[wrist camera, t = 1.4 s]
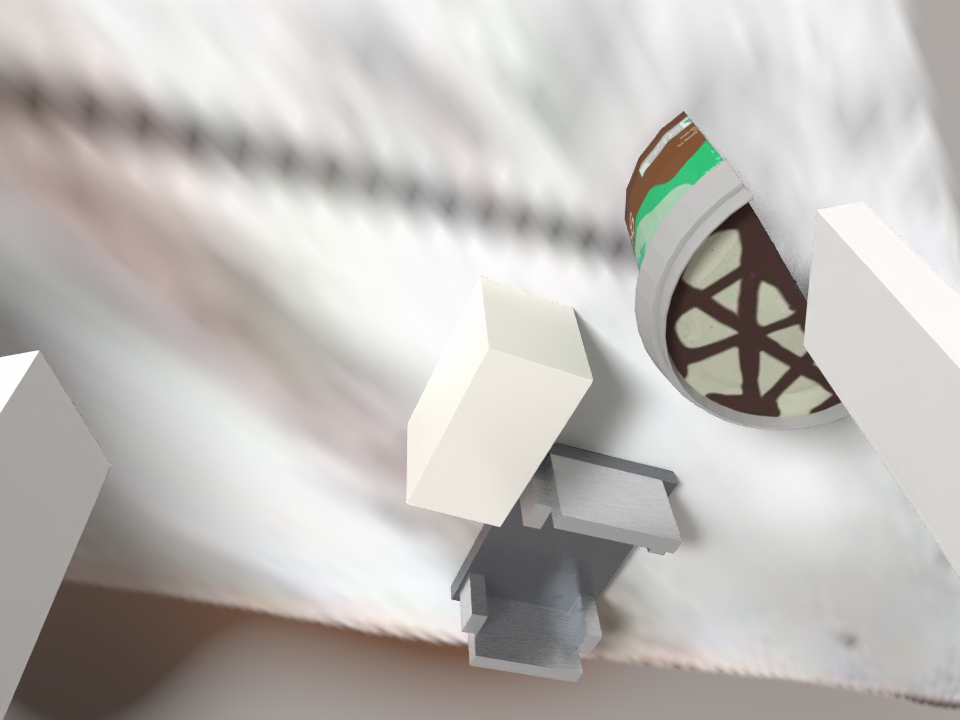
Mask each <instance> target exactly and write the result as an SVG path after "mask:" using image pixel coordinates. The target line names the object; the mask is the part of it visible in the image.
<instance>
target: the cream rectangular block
mask: <svg viewBox="0 0 960 720" xmlns="http://www.w3.org/2000/svg"><path fill="white" fill-rule="evenodd" d="M592 382H593V377H592V374H591V370H590V367H589V363H588V359H587V356H586V352H585V349H584V345H583V342H582V338H581V335H580V331H579V328H578V324H577V320H576V317H575V313H574V310H573V307H570V306H567V305H564V304H561V303H558V302H555V301H553V300H550V299H547V298H544V297H541V296H538V295H535V294H532V293H529V292H526V291H523V290H520V289H517V288H515V287H512V286H509V285H506V284H503V283H500V282H497V281H494V280H491V279H488V278H485V277H482V276H480V277H479V280H478V282H477V284H476V286H475V288H474V290H473V292H472V294H471V296H470V298H469V300H468V302H467V304H466V306H465V308H464V310H463V312H462V314H461V316H460V318H459V320H458V322H457V324H456V326H455V329H454V331H453V333H452V335H451V337H450V339H449V341H448V343H447V345H446V347H445V349H444V351H443V353H442V355H441V357H440V359H439V361H438V363H437V365H436V367H435V369H434V371H433V373H432V376H431V378H430V380H429V382H428V384H427V386H426V388H425V390H424V392H423V394H422V396H421V398H420V400H419V402H418V404H417V406H416V408H415V410H414V412H413V414H412V416H411V418H410V420H409V422H408V438H407V503H406V504H408V505H413V506H417V507H421V508H425V509H429V510H433V511H437V512H441V513H445V514H449V515H453V516H457V517H461V518H465V519H469V520H473V521H477V522H482V523H486V524H490V525H494V526H498V527H501V525H502V523H503V522H504V520H505V519H506V517H507V516H508V514H509V512H510V511H511V509H512V508H513V506H514V505H515V503H516V501H517V500H518V498H519V497H520V495H521V494H522V492H523V490H524V489H525V487H526V486H527V484H528V483H529V481H530V479H531V478H532V476H533V475H534V473H535V472H536V470H537V469H538V467H539V465H540V464H541V462H542V461H543V459H544V458H545V456H546V454H547V453H548V451H549V450H550V448H551V447H552V445H553V443H554V442H555V440H556V439H557V437H558V436H559V434H560V432H561V431H562V429H563V428H564V426H565V425H566V423H567V421H568V420H569V418H570V417H571V415H572V414H573V412H574V410H575V409H576V407H577V406H578V404H579V403H580V401H581V399H582V398H583V396H584V395H585V393H586V392H587V390H588V389H589V387H590V385H591V384H592Z"/></svg>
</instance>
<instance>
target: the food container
mask: <svg viewBox="0 0 960 720" xmlns="http://www.w3.org/2000/svg"><path fill="white" fill-rule="evenodd" d="M752 199H753V197H752V195H751V194H750V193H749V191H748V190H747V189H746V187H745V186H744V184H743V182H742V181H741V180H740V178H739V177H738V175H737V174H736V173H735V171H734V170H733V168H732V167H731V166H730V164H729V163H728V161H727V160H726V159H725V160H723V159H722V158H721V156H720V155H719V154H718V153H717V152H716V150H715V149H714V148H713V147H712V145H711V144H710V143H709V142H708V140H707V139H706V138H705V137H704V135H703V134H702V133H701V132H700V130H699V129H698V128H697V127H696V125H695V124H694V123H693V122H692V120H691V119H690V118H689V117H688V115H687V114H686V113H685V112H684V111H683V112H682V113H681V114H680V115H678V116H677V117H676V118H675V119H673V120H672V121H671V122H670V123H668V124H667V125H666V126H665V127H663V128H662V129H661V130H660V132H659V133H658V134H657V135H656V137H655V138H654V139H653V141H652V142H651V143H650V144H649V146H648V147H647V148H646V150H645V151H644V152H643V153H642V155H641V156H640V157H639V159H638V162H637V164H636V167H635V169H634V172H633V174H632V177H631V179H630V182H629V184H628V187H627V189H626V207H625V221H626V225H627V229H628V232H629V236H630V239H631V243H632V247H633V250H634V254H635V257H636V261H637V265H638V268H639V276H638V281H637V285H636V297H635V313H636V320H637V326H638V331H639V334H640V337H641V339H642V342H643V345H644V347H645V349H646V351H647V353H648V354H649V356H650V357H651V359H652V360H653V362H654V364H655V365H656V366H657V367H658V369H659V370H660V371H661V372H662V373H663V374H664V376H665V377H666V378H667V379H668V380H669V381H670V383H671V384H672V385H673V386H674V387H675V388H676V389H677V390H678V391H679V392H680V393H681V394H682V395H683V396H684V397H685V398H687V399H688V400H690V401H691V402H692V403H694V404H695V405H697V406H698V407H700V408H702V409H704V410H705V411H707V412H708V413H710V414H712V415H714V416H716V417H718V418H721V419H723V420H725V421H728V422H731V423H734V424H738V425H741V426H745V427H752V428H759V429H776V430H788V429H797V428H806V427H812V426H817V425H821V424H826V423H830V422H834V421H836V420H839V419H842V418H845V417H848V416H851V415H850V414H849V412H848V411H847V409H846V408H845V406H844V405H843V403H842V402H841V400H840V399H839V397H838V396H837V394H836V393H835V391H834V390H833V388H832V387H831V385H830V384H829V382H828V381H827V379H826V378H825V376H824V375H823V373H822V372H821V370H820V369H819V367H818V366H817V364H816V363H815V362H814V360H813V359H812V357H811V356H810V354H809V353H808V351H807V350H806V348H805V347H804V345H803V344H804V333H805V323H806V312H807V301H806V299H805V298H804V296H803V294H802V293H801V291H800V289H799V288H798V286H797V284H796V283H797V282H796V281H795V280H794V279H793V278H792V276H791V274H790V272H789V271H788V269H787V267H786V265H785V263H784V262H783V260H782V258H781V256H780V255H779V253H778V251H777V249H776V248H775V245H774V243H773V242H772V241H771V239H770V237H769V236H768V234H767V232H766V231H765V229H764V227H763V225H762V224H761V222H760V220H759V219H758V217H757V215H756V214H755V212H754V210H753V209H752V207H751V206H750V204H749V201H751V200H752Z"/></svg>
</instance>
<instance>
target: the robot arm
mask: <svg viewBox="0 0 960 720" xmlns="http://www.w3.org/2000/svg"><path fill="white" fill-rule="evenodd" d="M803 345H804V347H805V348H806V350H807V351H808V353H809V354H810V356H811V357H812V359H813V360H814V362H815V363H816V364H817V366H818V367H819V369H820V370H821V372H822V373H823V375H824V376H825V378H826V379H827V381H828V382H829V384H830V385H831V387H832V388H833V390H834V391H835V393H836V394H837V396H838V397H839V399H840V400H841V402H842V403H843V405H844V406H845V408H846V409H847V411H848V412H849V414H850V415H851V417H852V418H853V420H854V421H855V422H856V424H857V425H858V427H859V428H860V430H861V431H862V433H863V434H864V436H865V437H866V439H867V440H868V442H869V443H870V445H871V446H872V448H873V449H874V451H875V452H876V454H877V455H878V457H879V458H880V460H881V461H882V463H883V464H884V466H885V467H886V469H887V470H888V472H889V473H890V475H891V476H892V477H893V479H894V480H895V482H896V483H897V485H898V486H899V488H900V489H901V491H902V492H903V494H904V495H905V497H906V498H907V500H908V501H909V503H910V504H911V506H912V507H913V509H914V510H915V512H916V513H917V515H918V516H919V518H920V519H921V521H922V522H923V524H924V525H925V527H926V528H927V530H928V531H929V532H930V534H931V535H932V537H933V538H934V540H935V541H936V543H937V544H938V546H939V547H940V549H941V550H942V552H943V553H944V555H945V556H946V558H947V559H948V561H949V562H950V564H951V565H952V567H953V568H954V570H955V571H956V573H957V574H958V576H959V577H960V294H959V293H958V292H957V291H956V290H955V289H954V288H952V287H951V286H950V285H949V284H948V283H947V282H946V281H945V280H944V279H943V278H942V277H941V276H940V275H939V274H938V273H937V272H936V271H935V270H934V269H933V268H932V267H931V266H930V265H929V264H928V263H927V262H926V261H925V260H924V259H923V258H922V257H921V256H920V255H919V254H917V253H916V252H915V251H914V250H913V249H912V248H911V247H910V246H909V245H908V244H907V243H906V242H905V241H904V240H903V239H902V238H901V237H900V236H899V235H898V234H897V233H896V232H895V231H894V230H893V229H892V228H891V227H890V226H889V225H888V224H887V223H886V222H885V221H884V220H882V219H881V218H880V217H879V216H878V215H877V214H876V213H875V212H874V211H873V210H872V209H871V208H870V207H869V206H868V205H867V204H866V203H865V202H864V201H862V202H857V203H851V204H846V205H840V206H835V207H829V208H823V209H818V210H816V218H815V228H814V239H813V249H812V260H811V270H810V281H809V291H808V302H807V312H806V323H805V333H804V344H803ZM110 467H111V464H110V462H109V461H108V459H107V457H106V456H105V454H104V452H103V451H102V449H101V448H100V446H99V444H98V443H97V441H96V440H95V438H94V436H93V435H92V433H91V432H90V430H89V428H88V427H87V425H86V423H85V422H84V420H83V419H82V417H81V415H80V414H79V412H78V411H77V409H76V407H75V406H74V404H73V403H72V401H71V399H70V398H69V396H68V394H67V393H66V391H65V390H64V388H63V386H62V385H61V383H60V382H59V380H58V378H57V377H56V375H55V374H54V372H53V370H52V369H51V367H50V365H49V364H48V362H47V361H46V359H45V357H44V356H43V354H42V353H41V351H40V350H37V351H32V352H26V353H21V354H15V355H10V356H4V357H0V720H3V718H4V716H5V713H6V711H7V708H8V706H9V704H10V701H11V699H12V697H13V695H14V692H15V690H16V688H17V685H18V683H19V680H20V678H21V676H22V673H23V671H24V669H25V666H26V663H27V662H28V659H29V657H30V655H31V652H32V650H33V648H34V645H35V643H36V640H37V638H38V636H39V634H40V631H41V629H42V626H43V624H44V622H45V619H46V617H47V615H48V612H49V610H50V608H51V605H52V603H53V601H54V598H55V596H56V594H57V591H58V589H59V587H60V584H61V582H62V580H63V577H64V575H65V572H66V570H67V568H68V565H69V563H70V561H71V558H72V556H73V554H74V551H75V549H76V547H77V544H78V542H79V540H80V537H81V535H82V533H83V530H84V528H85V526H86V523H87V521H88V518H89V516H90V514H91V511H92V509H93V507H94V504H95V502H96V500H97V497H98V495H99V493H100V490H101V488H102V486H103V483H104V481H105V479H106V476H107V474H108V472H109V469H110Z"/></svg>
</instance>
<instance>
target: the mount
mask: <svg viewBox="0 0 960 720" xmlns="http://www.w3.org/2000/svg"><path fill="white" fill-rule="evenodd" d="M676 485H677V482H676V479H675V477H674V474H673V472H672V471H668V470H664V469H660V468H656V467H651V466H647V465H643V464H639V463H635V462H631V461H627V460H623V459H618V458H614V457H610V456H606V455H602V454H598V453H594V452H589V451H585V450H581V449H577V448H573V447H569V446H565V445H561V444H556V443H553V445H552V447H551V448H550V450H549V451H548V453H547V454H546V456H545V458H544V459H543V461H542V462H541V464H540V465H539V467H538V469H537V470H536V472H535V473H534V475H533V476H532V478H531V479H530V481H529V483H528V484H527V486H526V487H525V489H524V490H523V492H522V494H521V495H520V497H519V498H518V500H517V501H516V503H515V505H514V506H513V508H512V509H511V511H510V512H509V514H508V516H507V517H506V519H505V520H504V522H503V523H502V525H501V527H498V526H494V525H490V524H486V523H485V525H484V527H483V528H482V530H481V532H480V534H479V536H478V538H477V539H476V541H475V543H474V545H473V547H472V549H471V551H470V552H469V554H468V556H467V558H466V560H465V562H464V564H463V565H462V567H461V569H460V571H459V573H458V575H457V577H456V578H455V580H454V582H453V584H452V586H451V599H452V600H457V601H460V606H461V627H462V632H467V633H468V643H469V661H470V665H471V666H477V667H484V668H490V669H496V670H502V671H509V672H515V673H521V674H527V675H534V676H540V677H546V678H553V679H559V680H565V681H571V682H576V681H577V680H578V679H579V677H580V676H581V675H582V668H581V662H580V656H579V652H584V653H591V652H592V650H593V649H594V648H595V646H596V645H597V644H598V642H599V641H600V640H601V638H602V632H601V628H600V623H599V618H598V613H597V609H596V604H595V599H596V598H597V596H598V595H599V593H600V592H601V591H602V589H603V588H604V586H605V585H606V584H607V582H608V581H609V579H610V578H611V577H612V575H613V574H614V572H615V571H616V569H617V568H618V567H619V565H620V564H621V562H622V561H623V560H624V558H625V557H626V555H627V554H628V553H629V551H630V550H631V548H632V547H633V546H634V545H636V546H641V547H646V548H647V550H648V552H651V553H655V554H660V555H664V554H665V553H666V552H669V553H674V552H675V551H676V549H677V548H678V547H679V545H680V544H681V543H682V538H681V535H680V532H679V529H678V527H677V524H676V521H675V518H674V515H673V512H672V509H671V506H670V503H669V500H668V496H669V495H670V493H671V492H672V491H673V489H674V488H675V486H676Z"/></svg>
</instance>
